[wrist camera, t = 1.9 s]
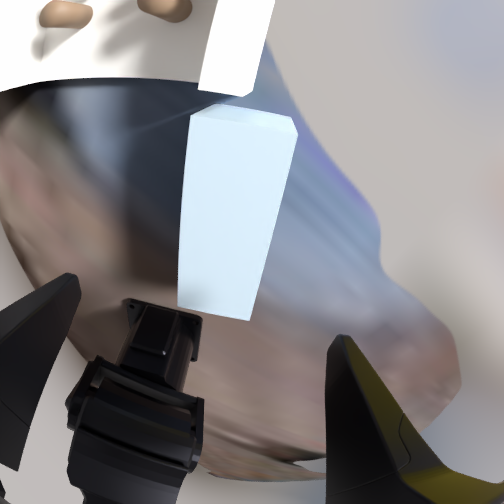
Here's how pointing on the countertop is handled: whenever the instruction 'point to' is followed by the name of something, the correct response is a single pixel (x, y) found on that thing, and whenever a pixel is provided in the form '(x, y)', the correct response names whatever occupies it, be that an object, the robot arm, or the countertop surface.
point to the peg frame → (134, 41)
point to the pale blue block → (230, 205)
